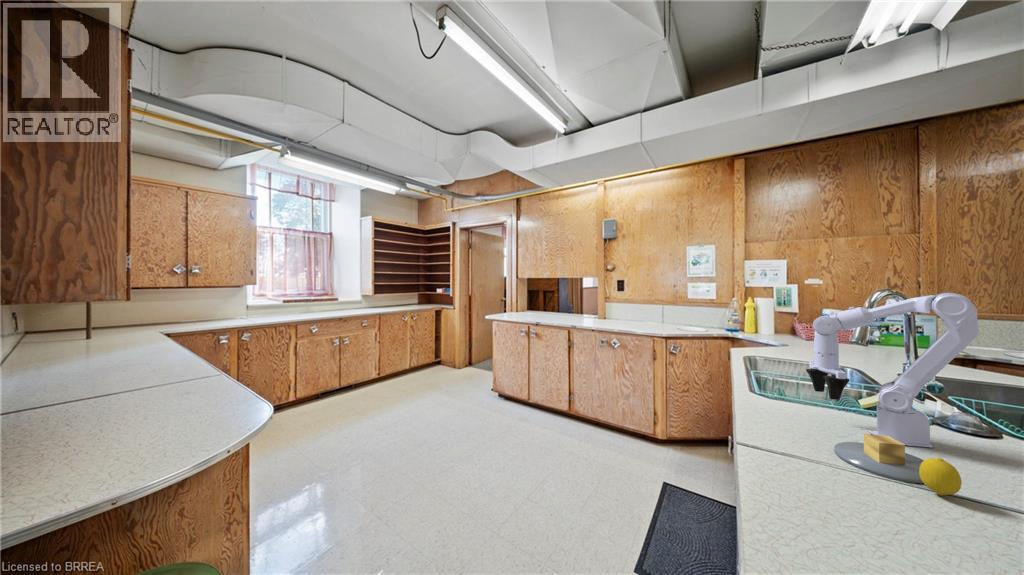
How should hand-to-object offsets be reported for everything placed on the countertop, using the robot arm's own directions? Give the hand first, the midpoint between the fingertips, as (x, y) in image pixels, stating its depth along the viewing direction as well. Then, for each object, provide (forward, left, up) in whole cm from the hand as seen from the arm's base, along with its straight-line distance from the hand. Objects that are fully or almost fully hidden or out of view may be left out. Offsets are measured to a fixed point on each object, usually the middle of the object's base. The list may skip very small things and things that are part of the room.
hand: (826, 395), depth 106 cm
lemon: (0, +37, -10) cm, 38 cm away
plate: (+1, +24, -9) cm, 26 cm away
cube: (+1, +24, -8) cm, 25 cm away
